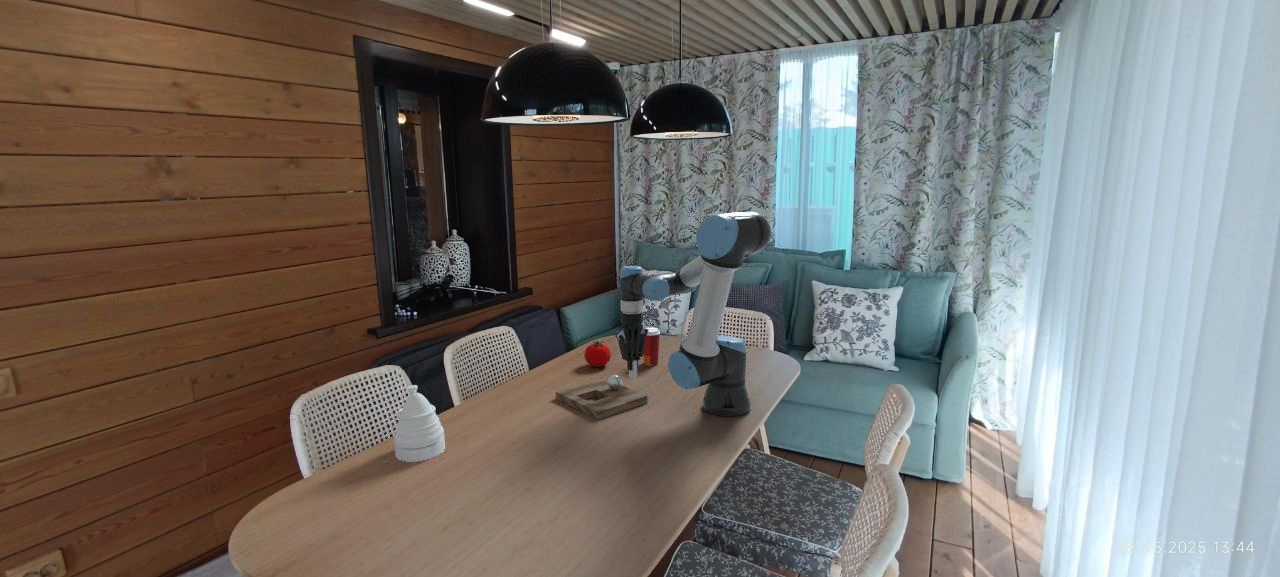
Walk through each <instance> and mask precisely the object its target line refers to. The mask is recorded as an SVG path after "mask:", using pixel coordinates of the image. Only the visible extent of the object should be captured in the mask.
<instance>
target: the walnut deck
mask: <svg viewBox="0 0 1280 577" xmlns="http://www.w3.org/2000/svg"><path fill="white" fill-rule="evenodd" d="M607 381H608V379H607V378H605V377H601V378H598V379H594V380H591V381H587V382H584V383H579V384H576V385H574V386H569V387H567V388H564V389H559V390H556V391H555V399H556V400H558V401H560V402H562V403H564V404H566V405H568V406H570V407H572V408H574V409H576V410H578V411H580V412H582V413H584V414H586V415H588V416H589V417H592V418H593V419H596V420H597V421H599V420H602V419H605V418H608V417H610V416H611V417H612V416H614V415H617V414H619V413H622V412H625V411H628V410H631V409H635V408H637V407H641V406H643V405H646V404H648V395H647V394H644V393H642V392H640V391H639V392H638V391H637V390H635V389H632V388H630V387H628V386H624V385H623V384H622V385H621V387H620V388H619V389H616V390H613V389H611V388H610V387H609V386H608V383H607ZM593 398H598V399H597V400H594V401H589V400H591V399H593Z"/></svg>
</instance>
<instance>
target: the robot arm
mask: <svg viewBox="0 0 1280 577" xmlns="http://www.w3.org/2000/svg"><path fill="white" fill-rule="evenodd" d="M771 237H772V229H771V226H770V223H769V221H768V220H767V218H766V217H765V216H763V215H762V214H760V213H758V212H755V211H743V212H728V213H727V212H721V213H717V214H712V215H709V216H707V217H706V218H704V219H703V220H702V221H701V223H700V225H699V226H698V229H697V231H696V236H695V243H696V244H697V246H696V247H697V250H698V252H699V253H700V255H699V256H697V257H696V258H695V259H693V260H691V261H689V262H688V263H687V264H685V265H683V266H682V267H681V268H680V269H678V270H676V271H674V272H668V273H661V274H653V275H648V274H644V273H643V267H641V266H639V265H624V266H622V267H621V268H620V270H619V272H620V273H619V291H620V293H619V294H620V295H619V296H620V312H621V313H620V322H621V328H620V332H619V333H616V334H615V338H616V339H617V342H618V347H619V350H620V355H621V358H622V359H621V360H624V361H626V363H627V364H626V365H627V366H626V368H627V370H628V379H632V380H633V381H635V380H637V379H638V369H639V361H641V360H642V359H641V358H643V353H644V347H645V341H646V335H647V333H648V329H645V328H646V327H644V326H643V322H644V312H643V311H644V299H647V300H649V301H653V302H656V301H657V302H661V301H663V300H665V299H666V298H667V297H671V296H677V295H683V294H689V293H692V292H695V291H696V290H697V288H698V290H697V295H696V298H695V302H694V303H695V304H694V308H693V311H692V315H691V320H690V324H689V328H688V333H687V335H686V336H685V337H683V338H682V339H681V341H680V343H679V344H680V345H679V349H678V351H674V352H673V353H671V354H670V356H669V358H668V362H667V363H668V364H667V366H668V367H667V368H668V371H669V374H670V376H671V378H672V380H673V381H674V383H675V384H676V385H677V386H678V387H680V388H681V389H683V390H692V389H698V388H700V387H702V386H706V385H707V387H706V389H705V392H704V396H703V397H702V398H703V399H702V408H703V410H704V411H705V412H706V413H709V414H712V415H714V416H720V417H738V416H743V415H745V414H747V413H749V412H750V411H751V405H752V404H751V398H750V397H749V393H748V390H747V385H746V378H747V377H746V371H747V347H746V346H747V345H746V342H745V341H744V339H742V338H739V337H736V336H731V335H722V334H720V335H719V332H720V329H721V325H722V322H723V318H724V315H725V310H726V306H727V302H728V299H729V294H730V290H731V286H732V283H733V279H734V274H735V271H737V270H739V269H741V268H742V266H743V262H744V259H749V258H751V257H753V256H754V255H756V254H758V253H759V252H761V251H763V250H764V249H766V247H767V246H768V244H769V242H771V241H770V240H771Z"/></svg>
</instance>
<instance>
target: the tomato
mask: <svg viewBox="0 0 1280 577" xmlns="http://www.w3.org/2000/svg"><path fill="white" fill-rule="evenodd" d="M611 352H612V351H611V349H610V347H609V346H608V345H606V344H605V343H603V340H601V341H595V340H592V343H590V345H588V346H586V348H585V351H584V356H583V357H584V361H585V362H586V364H588V365H590V366H592V367H595V368H601V367H604V366H606V365H607V364H608V363H609V362H610V360H611V358H612V353H611Z"/></svg>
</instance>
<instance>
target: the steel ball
mask: <svg viewBox="0 0 1280 577" xmlns="http://www.w3.org/2000/svg"><path fill="white" fill-rule="evenodd" d="M607 380H608V381H607V383H608V386H609V387H610V388H611V389H613V390H616V389H619V388H620V387H621V385H622V386H623V379H622V378H621V376H620V375H619V374H612V375H609V377H608V379H607Z"/></svg>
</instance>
